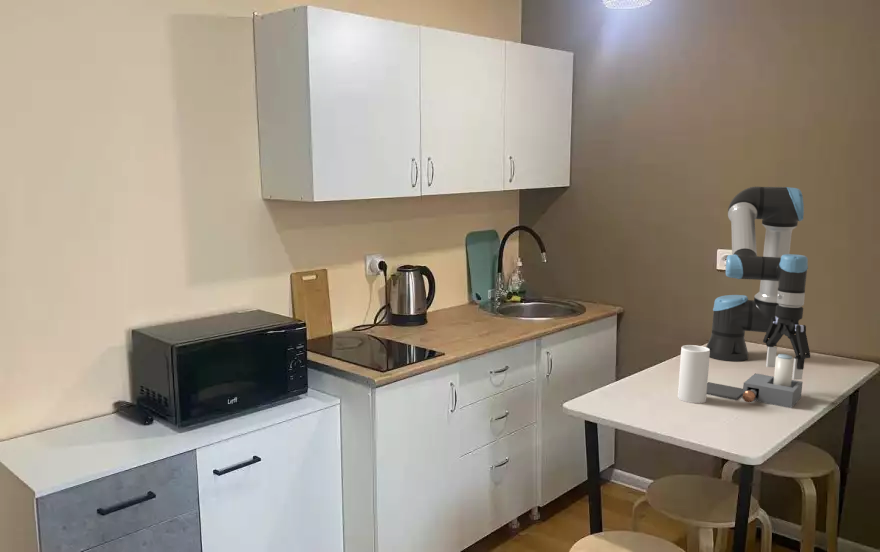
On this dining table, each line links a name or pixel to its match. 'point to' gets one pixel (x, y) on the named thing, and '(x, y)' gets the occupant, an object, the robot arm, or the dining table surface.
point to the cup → (693, 373)
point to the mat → (724, 391)
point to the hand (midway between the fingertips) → (783, 373)
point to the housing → (774, 390)
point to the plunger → (750, 395)
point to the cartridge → (783, 370)
